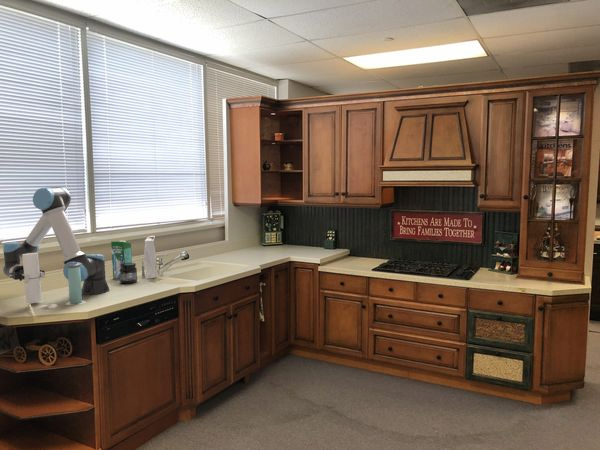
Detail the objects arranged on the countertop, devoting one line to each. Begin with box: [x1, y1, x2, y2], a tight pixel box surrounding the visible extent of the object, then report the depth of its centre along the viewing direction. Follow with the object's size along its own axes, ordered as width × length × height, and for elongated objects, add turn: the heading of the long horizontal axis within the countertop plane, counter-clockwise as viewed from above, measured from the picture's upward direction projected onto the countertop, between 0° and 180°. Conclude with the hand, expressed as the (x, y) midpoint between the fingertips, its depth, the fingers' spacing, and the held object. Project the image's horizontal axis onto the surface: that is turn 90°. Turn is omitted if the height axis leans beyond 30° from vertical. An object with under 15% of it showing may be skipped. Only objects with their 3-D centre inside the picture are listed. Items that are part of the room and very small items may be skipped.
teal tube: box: [67, 264, 83, 305], centre depth 257 cm, size 6×6×20 cm
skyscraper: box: [141, 235, 158, 280], centre depth 326 cm, size 8×8×28 cm
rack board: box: [36, 299, 87, 310], centre depth 254 cm, size 24×12×1 cm, turn 123°
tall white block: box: [22, 252, 43, 304], centre depth 255 cm, size 7×7×25 cm
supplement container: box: [119, 262, 138, 285], centre depth 313 cm, size 10×10×12 cm
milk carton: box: [110, 240, 133, 280], centre depth 328 cm, size 9×9×25 cm
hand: (35, 276), depth 252 cm, fingers closed on tall white block, 7 cm apart
